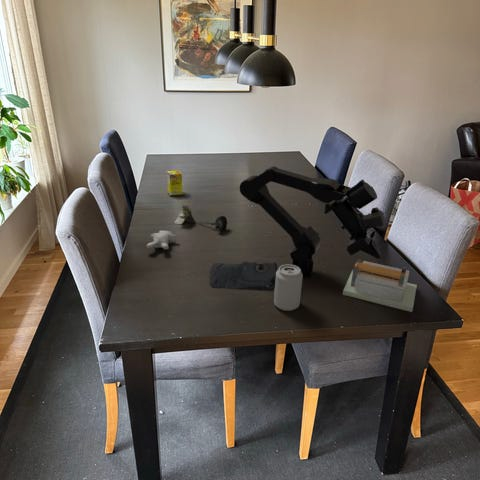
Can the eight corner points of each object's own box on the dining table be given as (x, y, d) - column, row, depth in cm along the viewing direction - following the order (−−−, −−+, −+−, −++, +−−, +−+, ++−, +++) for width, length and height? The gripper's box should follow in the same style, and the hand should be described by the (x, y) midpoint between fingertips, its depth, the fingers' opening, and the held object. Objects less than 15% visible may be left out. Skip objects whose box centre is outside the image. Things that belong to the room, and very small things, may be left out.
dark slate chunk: (211, 265, 145) (211, 253, 143) (276, 268, 145) (277, 255, 143) (207, 290, 131) (207, 276, 129) (279, 292, 132) (280, 279, 129)
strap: (353, 269, 132) (354, 265, 131) (356, 264, 135) (356, 260, 134) (403, 280, 126) (404, 277, 126) (404, 275, 129) (405, 272, 129)
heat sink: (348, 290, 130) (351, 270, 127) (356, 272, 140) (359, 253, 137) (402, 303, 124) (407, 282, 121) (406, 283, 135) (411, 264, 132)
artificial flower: (217, 239, 167) (211, 218, 161) (174, 230, 179) (166, 210, 173) (229, 226, 172) (223, 205, 167) (186, 219, 184) (180, 199, 179)
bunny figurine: (179, 228, 162) (170, 241, 147) (179, 241, 163) (170, 255, 149) (154, 226, 162) (143, 239, 148) (154, 239, 164) (143, 253, 150)
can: (297, 298, 128) (300, 262, 123) (301, 312, 121) (305, 275, 116) (272, 297, 128) (274, 262, 123) (274, 312, 121) (277, 275, 116)
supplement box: (182, 195, 205) (182, 173, 201) (170, 197, 203) (169, 174, 199) (179, 191, 210) (179, 170, 206) (167, 193, 208) (166, 171, 204)
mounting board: (342, 294, 131) (343, 290, 130) (351, 274, 142) (352, 270, 142) (412, 312, 123) (413, 307, 123) (415, 288, 135) (416, 284, 134)
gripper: (365, 212, 116) (399, 258, 116) (376, 192, 131) (406, 233, 132) (332, 233, 122) (365, 276, 123) (346, 211, 137) (375, 250, 138)
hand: (379, 257), depth 129 cm, fingers closed
